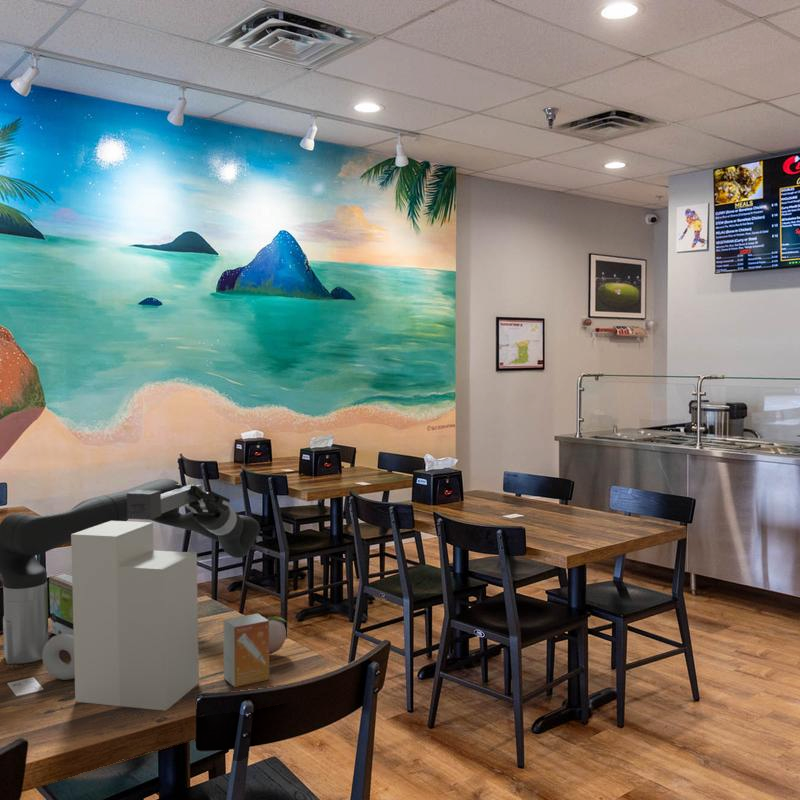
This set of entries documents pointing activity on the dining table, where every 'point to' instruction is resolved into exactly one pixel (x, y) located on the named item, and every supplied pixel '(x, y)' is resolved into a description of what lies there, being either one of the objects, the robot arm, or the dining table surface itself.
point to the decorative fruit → (276, 633)
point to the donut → (52, 656)
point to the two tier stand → (133, 618)
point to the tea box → (61, 604)
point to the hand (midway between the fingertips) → (184, 488)
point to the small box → (246, 649)
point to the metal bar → (156, 502)
